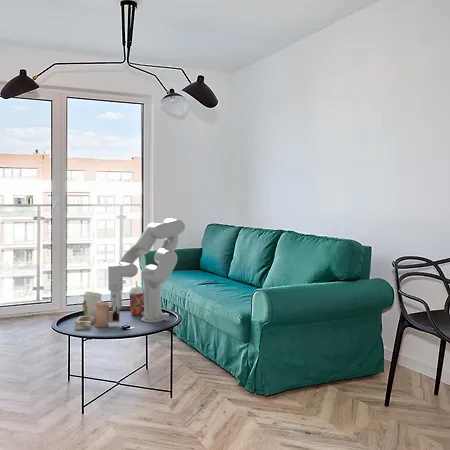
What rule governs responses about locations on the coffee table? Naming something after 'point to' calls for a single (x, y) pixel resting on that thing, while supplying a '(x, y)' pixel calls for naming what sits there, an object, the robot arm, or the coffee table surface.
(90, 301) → the pitcher
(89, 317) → the holder
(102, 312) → the peach cylinder
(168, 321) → the coffee table surface
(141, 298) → the smoothie
